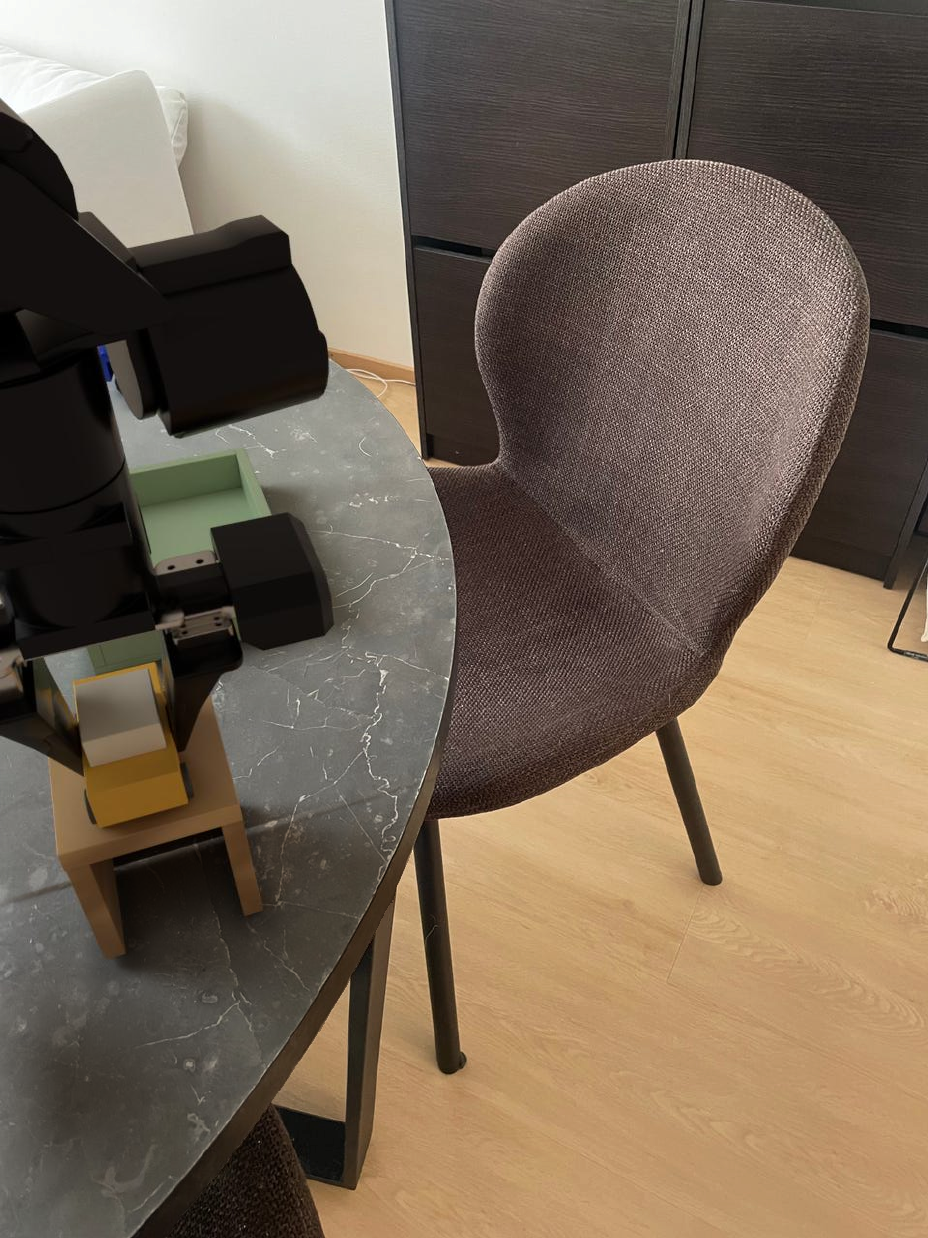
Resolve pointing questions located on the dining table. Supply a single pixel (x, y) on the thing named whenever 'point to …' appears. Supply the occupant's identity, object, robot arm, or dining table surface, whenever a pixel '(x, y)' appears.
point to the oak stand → (149, 831)
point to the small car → (128, 746)
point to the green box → (184, 526)
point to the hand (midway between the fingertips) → (134, 756)
